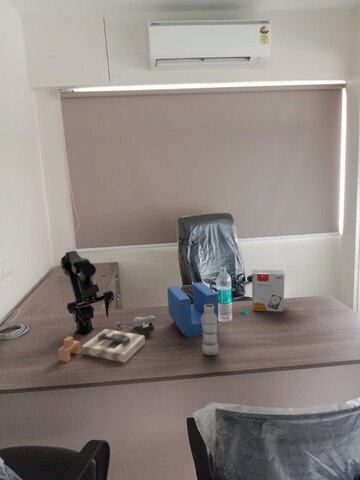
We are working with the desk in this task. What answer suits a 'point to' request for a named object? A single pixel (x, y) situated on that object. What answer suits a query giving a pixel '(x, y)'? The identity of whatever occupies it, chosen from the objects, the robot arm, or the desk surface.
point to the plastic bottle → (209, 331)
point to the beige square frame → (121, 352)
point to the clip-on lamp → (142, 324)
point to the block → (182, 310)
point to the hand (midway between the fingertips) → (96, 321)
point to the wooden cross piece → (69, 349)
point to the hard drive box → (268, 290)
